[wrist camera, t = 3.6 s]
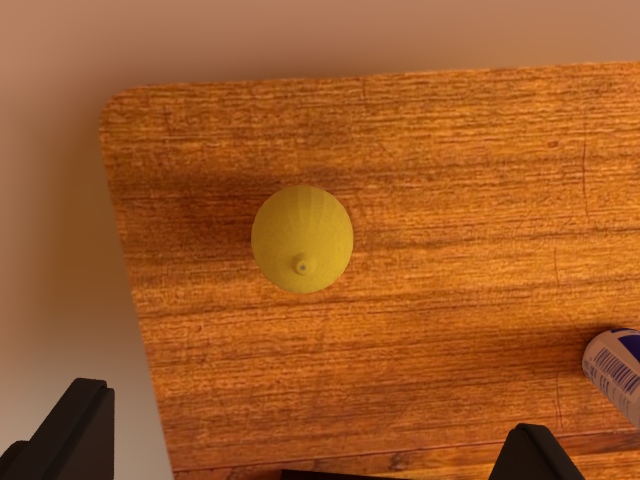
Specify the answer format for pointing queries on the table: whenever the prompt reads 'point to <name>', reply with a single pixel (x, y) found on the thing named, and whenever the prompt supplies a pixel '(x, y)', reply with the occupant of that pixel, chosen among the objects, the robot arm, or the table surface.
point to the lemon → (302, 239)
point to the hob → (324, 476)
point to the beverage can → (616, 369)
